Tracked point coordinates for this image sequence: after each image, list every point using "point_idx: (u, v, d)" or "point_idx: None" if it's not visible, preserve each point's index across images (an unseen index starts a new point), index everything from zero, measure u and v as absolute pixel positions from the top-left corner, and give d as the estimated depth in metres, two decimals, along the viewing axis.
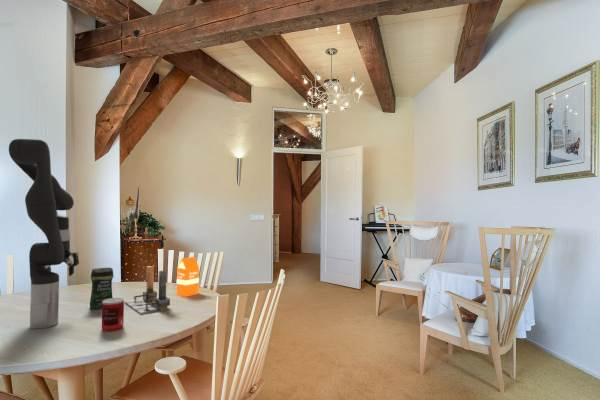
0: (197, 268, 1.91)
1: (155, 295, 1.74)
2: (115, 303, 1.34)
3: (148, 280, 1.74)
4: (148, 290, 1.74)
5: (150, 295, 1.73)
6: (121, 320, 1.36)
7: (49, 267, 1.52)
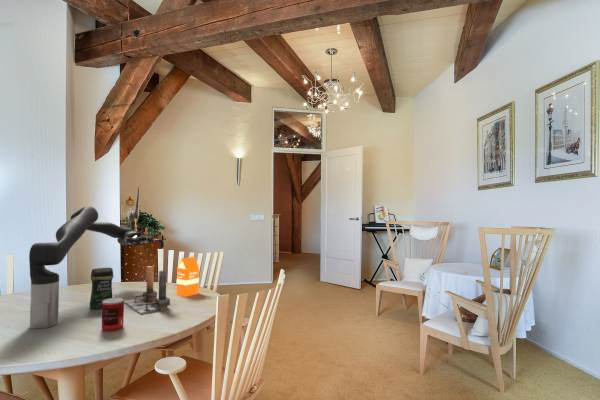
0: (197, 268, 1.91)
1: (155, 295, 1.74)
2: (115, 303, 1.34)
3: (148, 280, 1.74)
4: (148, 290, 1.74)
5: (150, 295, 1.73)
6: (121, 320, 1.36)
7: None
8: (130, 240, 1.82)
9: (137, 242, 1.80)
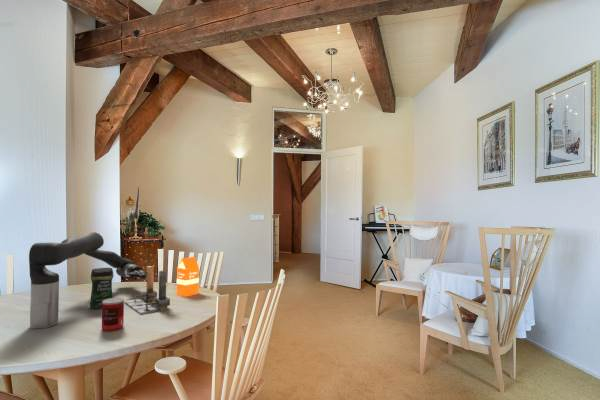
0: (197, 268, 1.91)
1: (155, 295, 1.74)
2: (115, 303, 1.34)
3: (148, 280, 1.74)
4: (148, 290, 1.74)
5: (150, 295, 1.73)
6: (121, 320, 1.36)
7: None
8: (137, 275, 1.84)
9: (143, 278, 1.82)
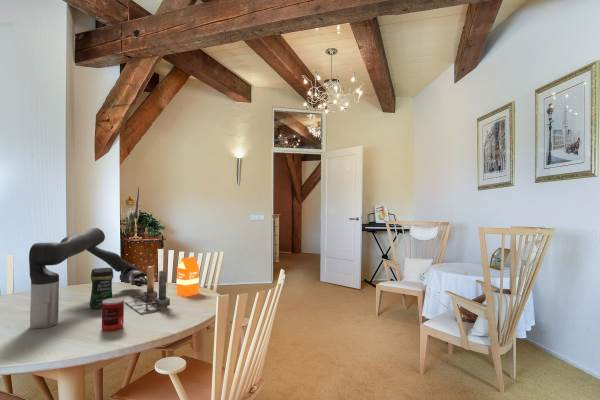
0: (197, 268, 1.91)
1: (156, 295, 1.74)
2: (115, 303, 1.34)
3: (148, 280, 1.73)
4: (148, 290, 1.73)
5: (150, 295, 1.72)
6: (121, 320, 1.36)
7: None
8: (142, 282, 1.78)
9: None
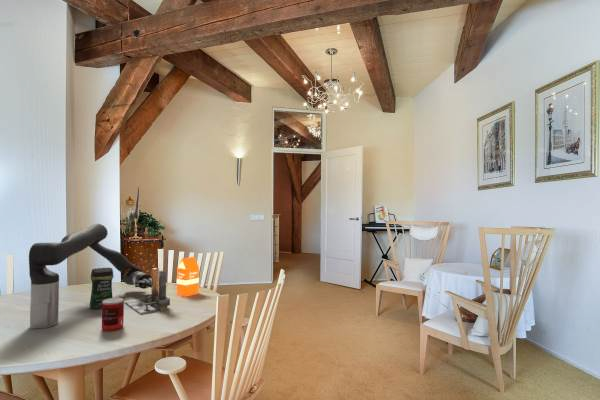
0: (197, 268, 1.91)
1: None
2: (115, 303, 1.34)
3: (153, 282, 1.68)
4: (153, 293, 1.68)
5: (155, 298, 1.67)
6: (121, 320, 1.36)
7: None
8: (146, 284, 1.73)
9: None
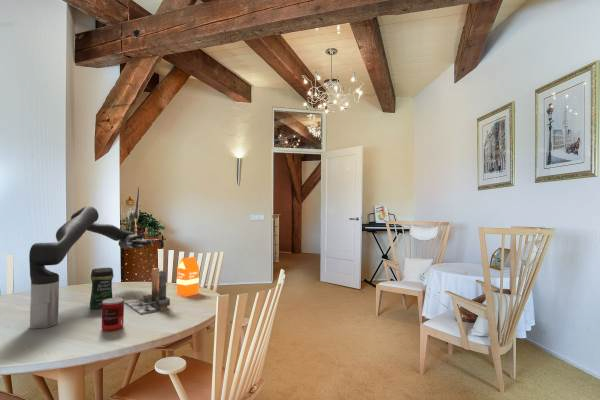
0: (197, 268, 1.91)
1: None
2: (115, 303, 1.34)
3: (153, 282, 1.68)
4: (153, 293, 1.68)
5: (155, 298, 1.67)
6: (121, 320, 1.36)
7: None
8: (139, 243, 1.83)
9: (145, 245, 1.81)
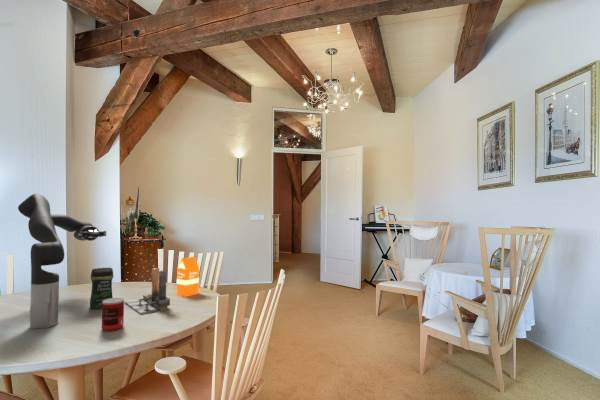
0: (197, 268, 1.91)
1: None
2: (115, 303, 1.34)
3: (153, 282, 1.68)
4: (153, 293, 1.68)
5: (155, 298, 1.67)
6: (121, 320, 1.36)
7: None
8: (89, 234, 1.71)
9: (95, 236, 1.69)
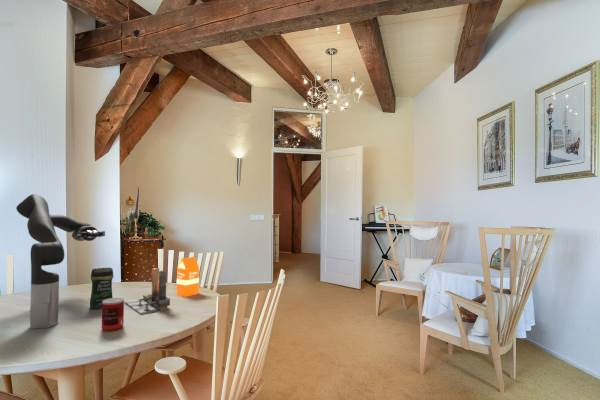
0: (197, 268, 1.91)
1: None
2: (115, 303, 1.34)
3: (153, 282, 1.68)
4: (153, 293, 1.68)
5: (155, 298, 1.67)
6: (121, 320, 1.36)
7: None
8: (88, 234, 1.71)
9: (94, 236, 1.69)
